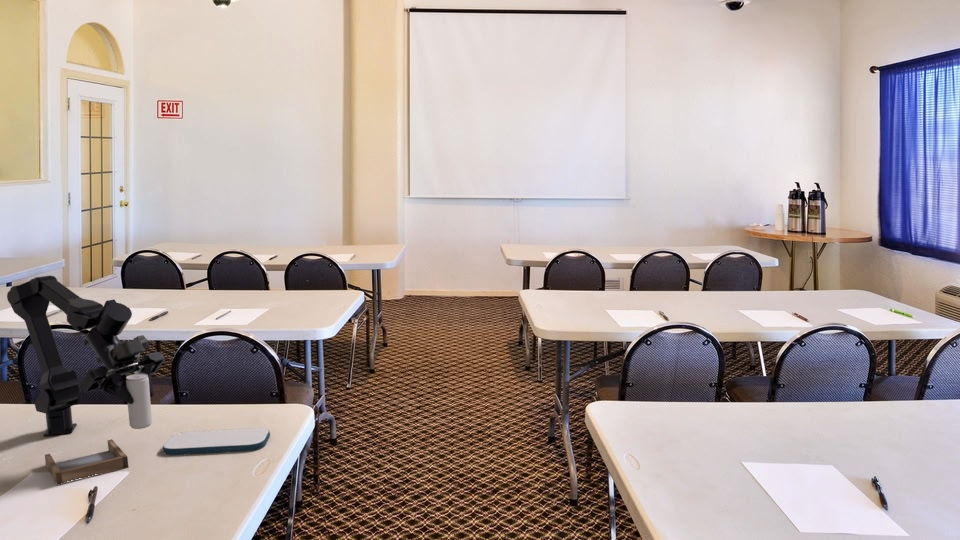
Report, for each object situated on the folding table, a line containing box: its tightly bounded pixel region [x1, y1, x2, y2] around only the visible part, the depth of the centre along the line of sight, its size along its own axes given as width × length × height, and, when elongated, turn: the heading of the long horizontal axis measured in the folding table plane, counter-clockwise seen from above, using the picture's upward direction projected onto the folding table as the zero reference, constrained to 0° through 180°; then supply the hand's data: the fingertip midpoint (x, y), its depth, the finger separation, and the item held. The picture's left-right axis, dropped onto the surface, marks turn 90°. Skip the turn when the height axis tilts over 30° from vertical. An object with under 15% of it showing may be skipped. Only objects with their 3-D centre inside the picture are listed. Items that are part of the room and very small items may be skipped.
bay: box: [44, 439, 129, 485], centre depth 163 cm, size 14×14×2 cm
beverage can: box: [125, 373, 153, 430], centre depth 169 cm, size 5×5×12 cm
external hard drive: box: [162, 427, 271, 456], centre depth 175 cm, size 24×12×2 cm, turn 95°
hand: (142, 399), depth 168 cm, fingers closed on beverage can, 5 cm apart
